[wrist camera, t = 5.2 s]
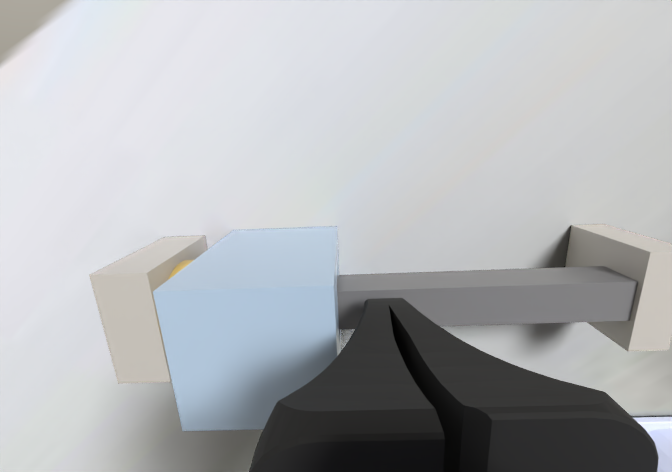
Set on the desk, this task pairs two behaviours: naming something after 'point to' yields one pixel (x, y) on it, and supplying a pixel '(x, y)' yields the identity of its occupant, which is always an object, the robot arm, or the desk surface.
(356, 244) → the desk surface
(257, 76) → the desk surface
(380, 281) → the grey bar rail
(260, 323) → the light blue sliding block
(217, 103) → the desk surface
